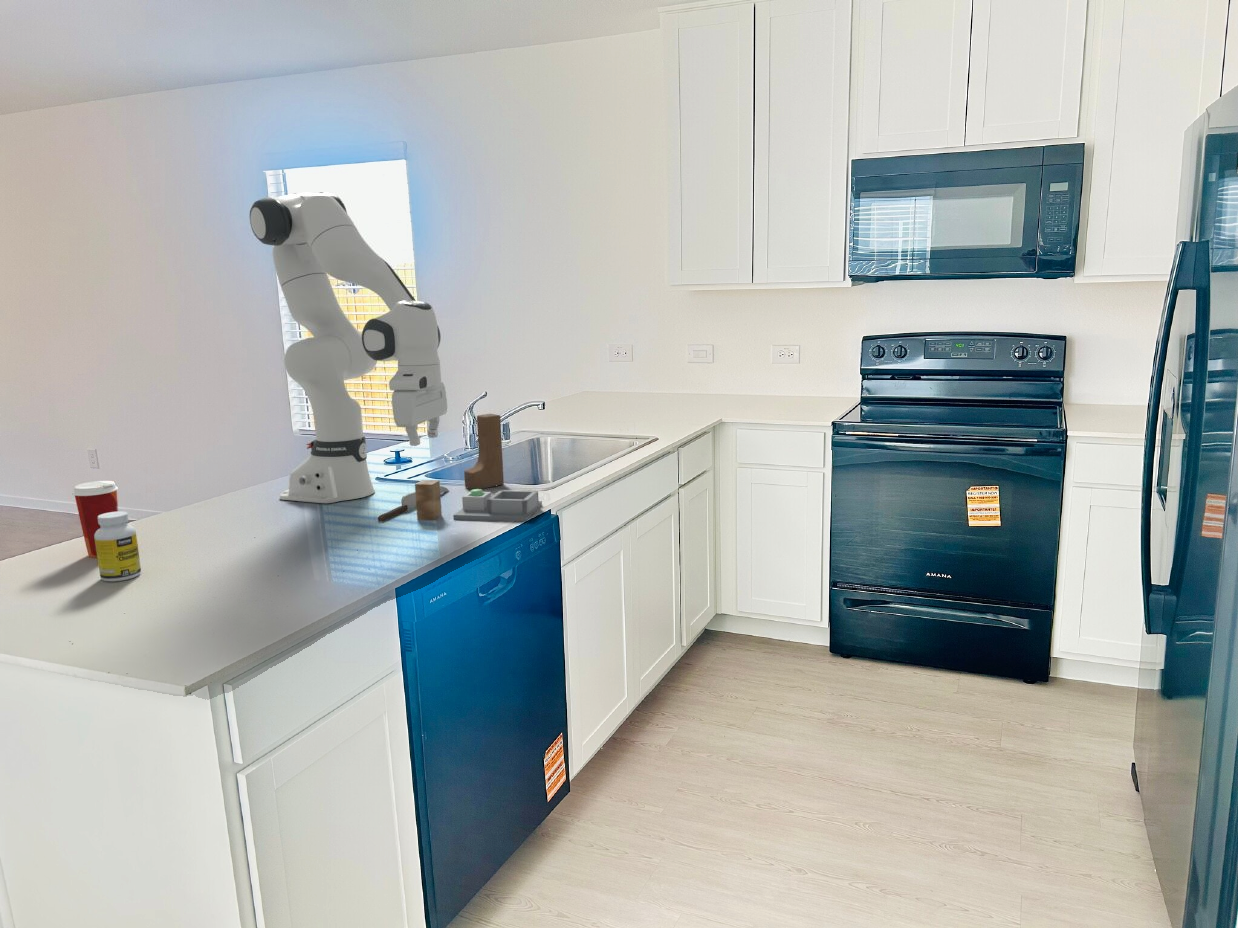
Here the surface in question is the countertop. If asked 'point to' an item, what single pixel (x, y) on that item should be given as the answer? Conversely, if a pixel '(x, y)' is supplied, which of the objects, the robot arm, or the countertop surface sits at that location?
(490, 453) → the wooden block
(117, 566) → the pill bottle
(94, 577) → the countertop surface
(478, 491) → the button
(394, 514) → the kitchen knife
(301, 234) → the robot arm
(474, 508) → the gray button tray fixture
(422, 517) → the block
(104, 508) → the paper cup
